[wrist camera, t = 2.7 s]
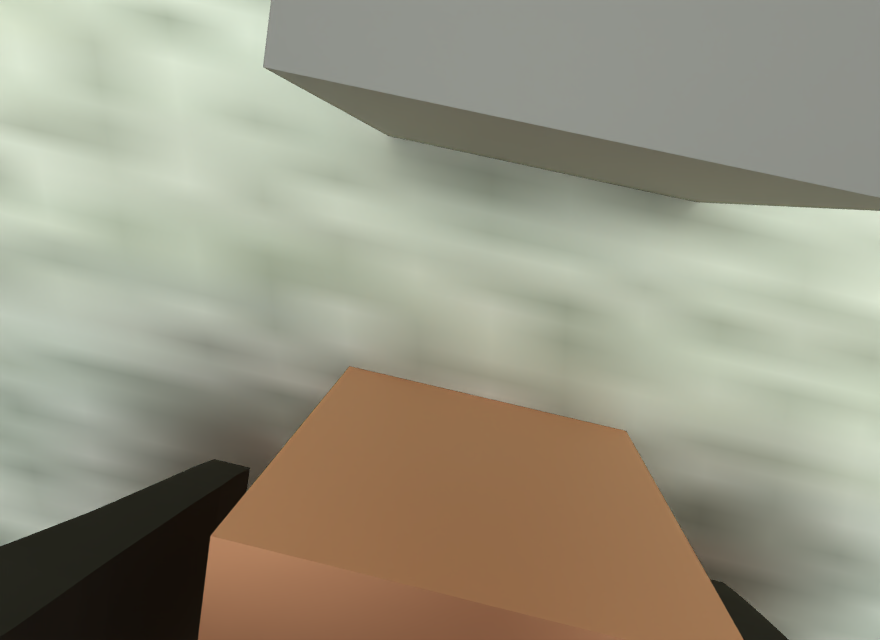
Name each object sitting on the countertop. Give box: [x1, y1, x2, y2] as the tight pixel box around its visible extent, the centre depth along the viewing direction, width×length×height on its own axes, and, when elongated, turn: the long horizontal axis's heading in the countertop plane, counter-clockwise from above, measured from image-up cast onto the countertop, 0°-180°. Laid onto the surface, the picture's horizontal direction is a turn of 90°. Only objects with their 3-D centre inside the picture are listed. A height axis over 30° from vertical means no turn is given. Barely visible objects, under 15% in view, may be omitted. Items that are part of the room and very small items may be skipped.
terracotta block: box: [198, 366, 743, 640], centre depth 8 cm, size 5×5×5 cm
